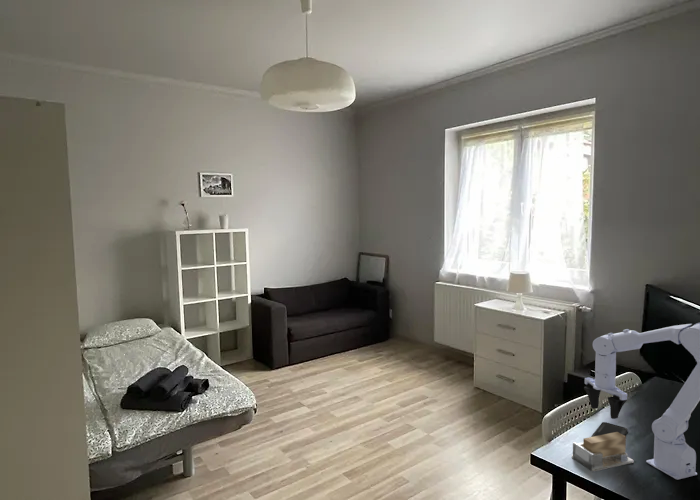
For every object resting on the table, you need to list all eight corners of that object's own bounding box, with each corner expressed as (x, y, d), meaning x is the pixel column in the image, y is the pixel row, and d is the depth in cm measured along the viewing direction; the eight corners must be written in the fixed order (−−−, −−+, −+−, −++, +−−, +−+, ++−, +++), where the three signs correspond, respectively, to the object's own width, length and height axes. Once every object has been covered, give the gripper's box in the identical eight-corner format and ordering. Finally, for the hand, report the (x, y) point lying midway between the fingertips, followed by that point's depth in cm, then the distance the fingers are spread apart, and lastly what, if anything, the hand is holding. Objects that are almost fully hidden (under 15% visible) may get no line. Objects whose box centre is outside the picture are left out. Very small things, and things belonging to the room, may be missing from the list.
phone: (628, 428, 149) (617, 445, 138) (628, 431, 149) (617, 448, 139) (602, 421, 155) (590, 436, 144) (602, 424, 155) (589, 440, 144)
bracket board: (610, 449, 138) (611, 434, 137) (633, 462, 130) (633, 446, 130) (571, 457, 133) (571, 441, 133) (592, 471, 126) (593, 455, 125)
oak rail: (616, 447, 135) (617, 431, 135) (625, 452, 132) (625, 436, 132) (583, 454, 131) (583, 438, 131) (591, 459, 128) (591, 443, 128)
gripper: (577, 366, 146) (576, 405, 147) (615, 381, 132) (613, 424, 133) (594, 364, 148) (593, 402, 149) (632, 378, 134) (631, 421, 135)
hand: (604, 413), depth 141 cm, fingers open, 7 cm apart
